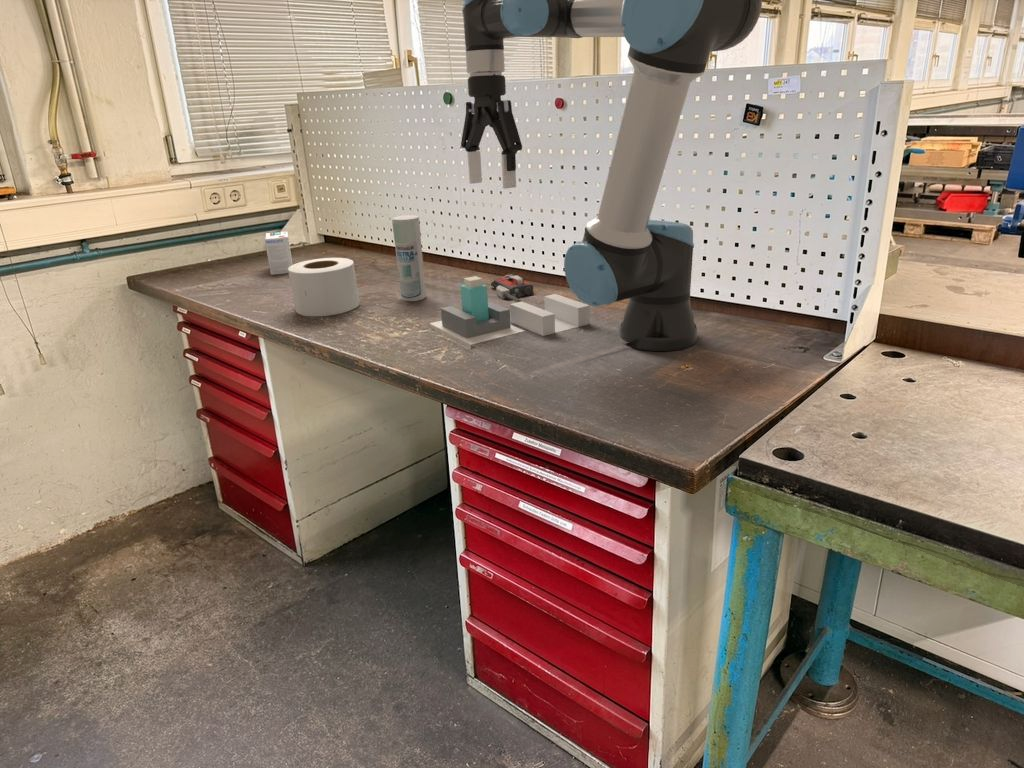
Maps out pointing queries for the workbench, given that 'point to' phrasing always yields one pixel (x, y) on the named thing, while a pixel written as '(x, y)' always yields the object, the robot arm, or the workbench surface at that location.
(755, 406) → the workbench surface
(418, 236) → the spray can
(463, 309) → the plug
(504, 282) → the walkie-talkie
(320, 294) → the roll of tape
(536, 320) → the offset white blocks
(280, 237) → the light bulb box
